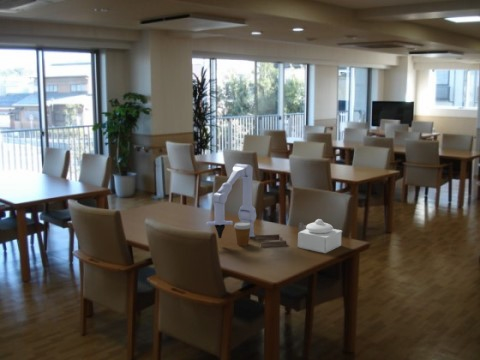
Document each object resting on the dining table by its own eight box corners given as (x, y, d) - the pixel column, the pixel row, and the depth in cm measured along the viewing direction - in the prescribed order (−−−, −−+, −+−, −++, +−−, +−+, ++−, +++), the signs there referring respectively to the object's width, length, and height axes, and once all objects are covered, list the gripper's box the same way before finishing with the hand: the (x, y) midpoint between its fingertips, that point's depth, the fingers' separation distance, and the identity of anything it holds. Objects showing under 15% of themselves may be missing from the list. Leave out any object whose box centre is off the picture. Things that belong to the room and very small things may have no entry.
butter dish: (314, 240, 317) (314, 213, 315) (341, 245, 306) (342, 218, 303) (297, 247, 304) (297, 219, 301) (325, 253, 293) (326, 224, 290)
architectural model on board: (316, 238, 322) (316, 222, 320) (312, 239, 320) (312, 223, 318) (302, 235, 330) (302, 219, 329) (298, 235, 328) (298, 220, 327)
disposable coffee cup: (236, 247, 305) (236, 226, 303) (232, 242, 314) (232, 222, 312) (253, 245, 308) (253, 225, 306) (248, 241, 317) (248, 221, 315)
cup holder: (255, 239, 320) (255, 235, 319) (279, 238, 322) (279, 234, 322) (261, 247, 305) (261, 242, 305) (286, 245, 308) (286, 241, 307)
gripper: (207, 216, 300) (207, 240, 303) (233, 215, 303) (233, 238, 305) (206, 213, 307) (206, 236, 310) (231, 212, 310) (231, 235, 312)
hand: (219, 237), depth 308 cm, fingers closed
